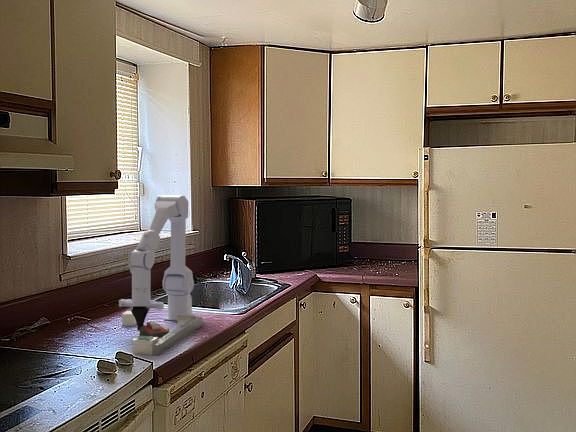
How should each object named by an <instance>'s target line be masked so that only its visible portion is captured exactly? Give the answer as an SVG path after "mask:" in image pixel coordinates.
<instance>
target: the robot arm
mask: <svg viewBox="0 0 576 432" xmlns="http://www.w3.org/2000/svg"><path fill="white" fill-rule="evenodd" d="M154 211H155V212H154V216H153V218H152V221H151V223H150V226H149V229H148V230H146V231H144V232H143V233H142V236H141V238H140V241H139V243H138V244H137V246H136V248H135V249H134V250H133V251H131V252H130V254H129V255H128V259H127V264H128V266H129V272H130V274H131V299H122V298H121V299H119V300H118V307H120V308H122V307H129V308H132V309H130V311H131V312H132V314H133V316H134V317H135V320H136V322H137V324H136V325H137V326H136V329H137V331H139V330H140V327H141V326H145V320H146V318H147V315H148V313H149V311H150V309H153V310H159V311H162V310H163V309H165V306H164V305H165V304H164V302H163V301H162V302H161V301H156V300H151V285H152V284H151V281H152V279H151V269H152V267H153V266H154V264H155V257H156V251H157V248H158V246H159V244H160V241H161V236H160V233H161V232H162V230H163V228H164V226H165V225H166V224H167V221H168V220H169V222H170V263H169V264H170V266H169V267H168V268H167V269H165V271H164V274H163V279H162V288H163V290H164V291H165V293H166V295H167V309H168V310H167V316H166V317H164V318H163V320H164V321H174V322H175V321H177V315H178V314H179V313H188V314H193V312H192V311H193V297H192V295H191V292H193V289H194V287H195V280H194V276H193V271H192V270H191V269H190V268H189V267H188V266H186V238H187V237H186V228H187V227H186V223H187V222H186V221H187V219H188V218H189V200H188V199H187V197H186V196H185V195H184V194H183V195H167V194H166V195H164V194H159V195H158V196H157V197H156V199H155V201H154Z"/></svg>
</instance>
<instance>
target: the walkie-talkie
mask: <svg viewBox="0 0 576 432" xmlns="http://www.w3.org/2000/svg"><path fill="white" fill-rule="evenodd" d="M169 332H170V328H169V327H168V326H167V325H160V323H157V322H156V321H147V322H146V325H145V324H144V326H141V327H140V330H139V336H153V337H158V339H160V338H162V337H163V336H165V335H166V334H168V333H169Z"/></svg>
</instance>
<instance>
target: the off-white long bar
mask: <svg viewBox="0 0 576 432" xmlns="http://www.w3.org/2000/svg"><path fill="white" fill-rule="evenodd" d="M176 325H177V326H176V328H174V329H173V330H171V331H169V333H168V334H166V335H165V336H163V337H162V338H160V339H158V337H153V336H140V335H138V336H137V337H134V338H133V339H132V354H136V355H147V356H160V355H162V354H163V353H165V352H166V351H168V350H170V348H172V347H173V346H175V345H176V344H177V343H179V342H181V341H182V340H183V339H185V338H187V337H188V336H189V335H191V334H192V333H193V332H195V331H197V330H198V329H199V328H200V327H202V325H203V316H200V315H199V316H196V313H192V314H188V313H179V314H178V315H177V324H176Z"/></svg>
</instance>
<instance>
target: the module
mask: <svg viewBox="0 0 576 432" xmlns="http://www.w3.org/2000/svg"><path fill="white" fill-rule="evenodd" d="M121 325H122V326H128V327H131V326H133V327H134V326H136V325H137V322H136V320H135V317H134V316H133V314H132V312H131V310H126V311H124V312H122V314H121Z"/></svg>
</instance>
